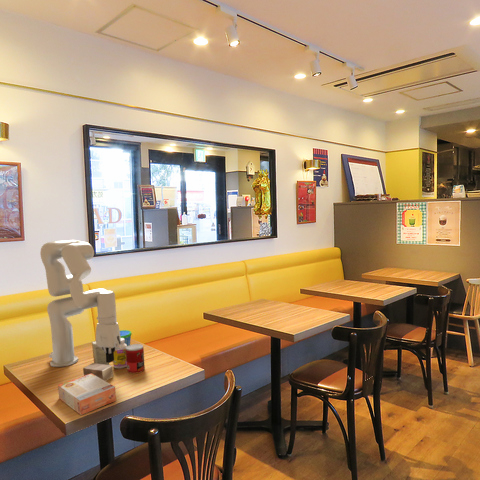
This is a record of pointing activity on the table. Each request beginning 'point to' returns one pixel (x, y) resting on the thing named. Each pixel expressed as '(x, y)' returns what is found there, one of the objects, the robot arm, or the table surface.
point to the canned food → (135, 358)
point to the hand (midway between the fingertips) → (110, 361)
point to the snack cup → (126, 336)
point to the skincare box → (99, 354)
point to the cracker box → (86, 393)
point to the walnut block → (99, 371)
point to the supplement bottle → (120, 355)
